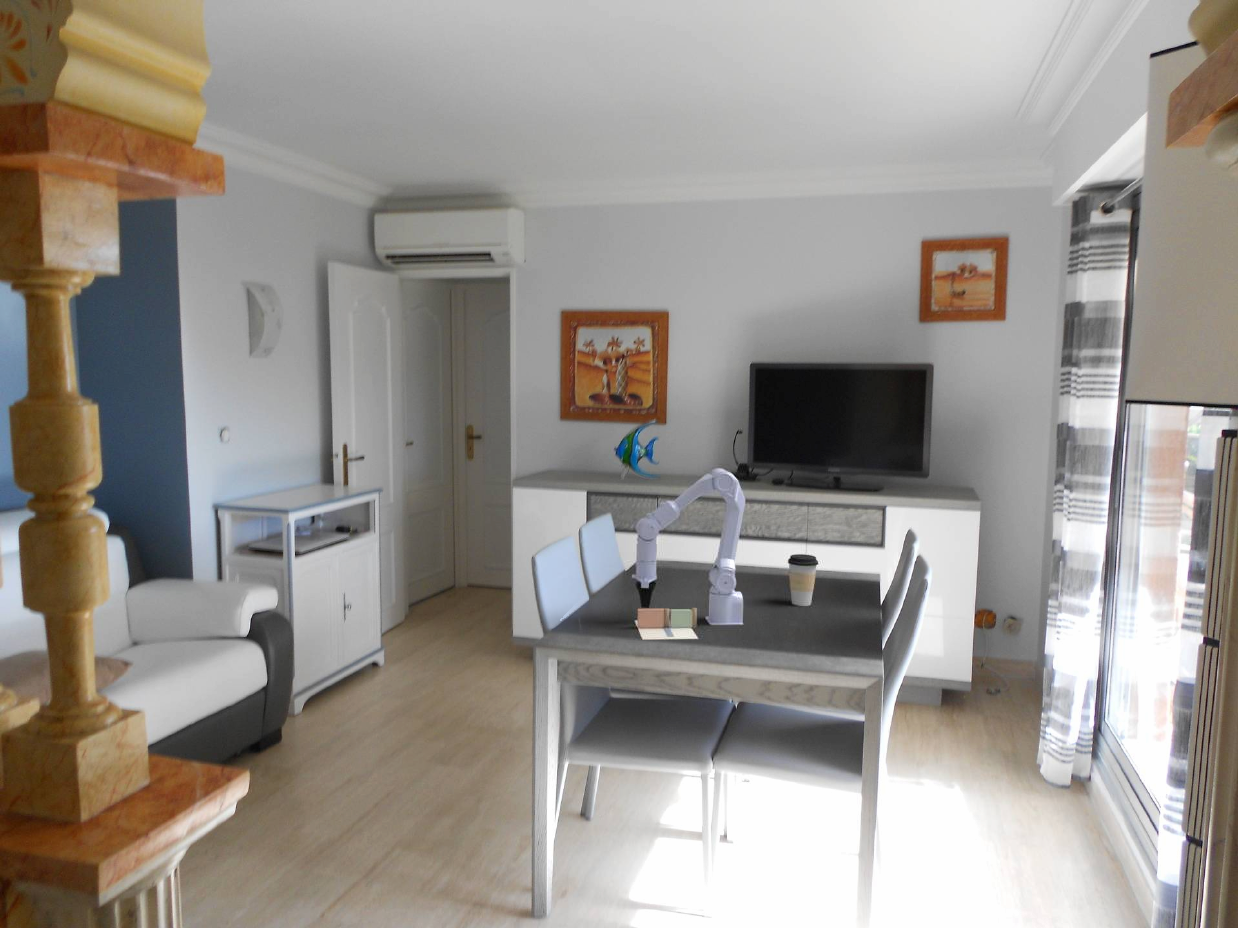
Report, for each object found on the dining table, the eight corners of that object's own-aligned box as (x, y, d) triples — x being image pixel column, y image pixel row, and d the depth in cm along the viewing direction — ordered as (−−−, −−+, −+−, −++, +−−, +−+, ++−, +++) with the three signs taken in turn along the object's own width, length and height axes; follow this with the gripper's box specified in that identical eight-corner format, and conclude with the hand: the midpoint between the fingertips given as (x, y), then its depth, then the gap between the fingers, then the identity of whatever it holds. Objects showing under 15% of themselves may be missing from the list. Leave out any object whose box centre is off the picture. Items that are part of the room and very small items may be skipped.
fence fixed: (695, 626, 247) (696, 607, 247) (697, 627, 246) (697, 608, 245) (669, 626, 246) (670, 607, 246) (670, 628, 245) (671, 609, 244)
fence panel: (668, 625, 247) (669, 608, 246) (669, 627, 245) (670, 609, 244) (637, 625, 246) (637, 608, 245) (638, 627, 244) (638, 610, 243)
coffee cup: (782, 605, 274) (784, 557, 272) (790, 598, 282) (792, 552, 281) (813, 608, 270) (814, 560, 268) (819, 602, 278) (821, 555, 277)
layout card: (685, 620, 254) (685, 619, 254) (698, 639, 235) (698, 637, 235) (634, 621, 253) (634, 619, 253) (642, 640, 234) (642, 638, 234)
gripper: (633, 554, 257) (632, 600, 259) (630, 564, 243) (629, 613, 244) (657, 555, 257) (656, 601, 258) (656, 565, 242) (655, 614, 244)
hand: (645, 607), depth 251 cm, fingers closed
